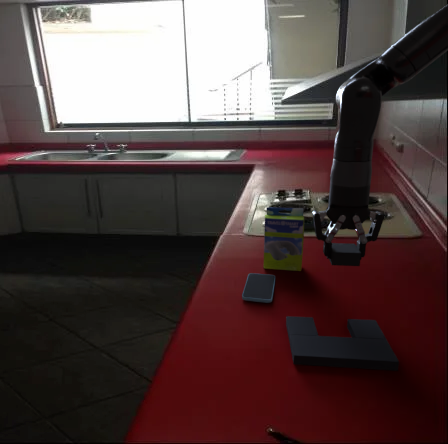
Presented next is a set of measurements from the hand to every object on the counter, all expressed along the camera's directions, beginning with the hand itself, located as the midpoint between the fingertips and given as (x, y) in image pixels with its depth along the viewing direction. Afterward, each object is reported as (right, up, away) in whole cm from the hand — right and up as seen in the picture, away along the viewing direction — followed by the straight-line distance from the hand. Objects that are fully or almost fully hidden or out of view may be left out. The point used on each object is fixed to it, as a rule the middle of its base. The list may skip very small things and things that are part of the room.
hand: (343, 257), depth 90 cm
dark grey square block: (0, -1, 0) cm, 1 cm away
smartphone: (-14, -10, +17) cm, 24 cm away
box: (-5, -5, +29) cm, 30 cm away
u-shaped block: (-4, -17, -7) cm, 19 cm away
